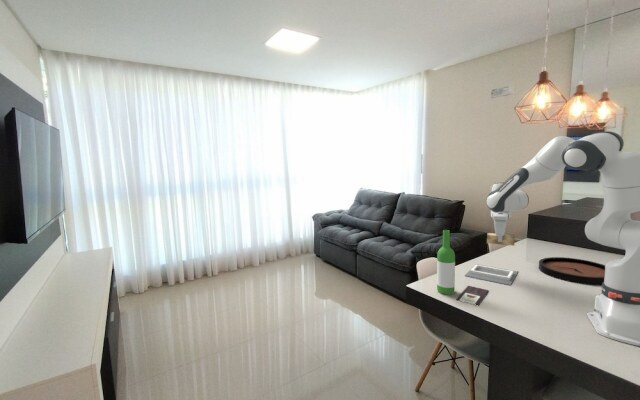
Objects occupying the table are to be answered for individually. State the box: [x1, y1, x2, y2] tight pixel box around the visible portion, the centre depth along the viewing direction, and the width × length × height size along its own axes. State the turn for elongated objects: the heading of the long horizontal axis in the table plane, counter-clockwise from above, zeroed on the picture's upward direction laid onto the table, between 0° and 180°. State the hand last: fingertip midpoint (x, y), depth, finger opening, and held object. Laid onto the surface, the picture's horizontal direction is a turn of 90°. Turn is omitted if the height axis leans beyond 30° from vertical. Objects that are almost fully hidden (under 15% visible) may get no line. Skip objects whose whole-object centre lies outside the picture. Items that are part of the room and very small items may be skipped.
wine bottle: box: [436, 229, 456, 295], centre depth 140 cm, size 8×8×30 cm
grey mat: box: [464, 263, 519, 286], centre depth 161 cm, size 22×21×2 cm
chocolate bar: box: [455, 285, 489, 306], centre depth 137 cm, size 9×1×18 cm
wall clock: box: [538, 256, 606, 286], centre depth 157 cm, size 31×4×31 cm
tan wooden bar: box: [486, 232, 515, 246], centre depth 153 cm, size 12×4×4 cm, turn 58°
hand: (500, 240), depth 154 cm, fingers closed on tan wooden bar, 4 cm apart
